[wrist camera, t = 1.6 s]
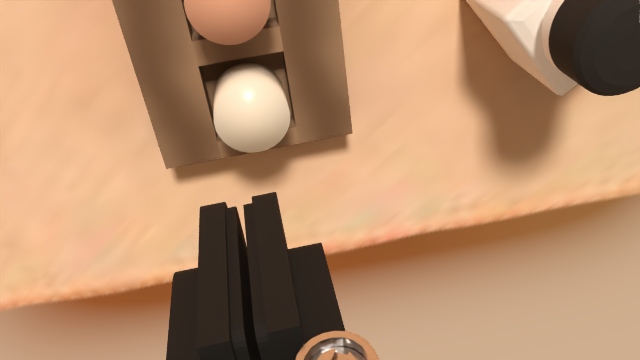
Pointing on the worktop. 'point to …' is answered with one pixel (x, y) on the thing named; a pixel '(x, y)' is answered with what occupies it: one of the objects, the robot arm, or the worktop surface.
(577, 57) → the medicine bottle
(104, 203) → the worktop surface
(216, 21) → the peach rounded dome
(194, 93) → the button board
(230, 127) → the cream egg
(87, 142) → the worktop surface
